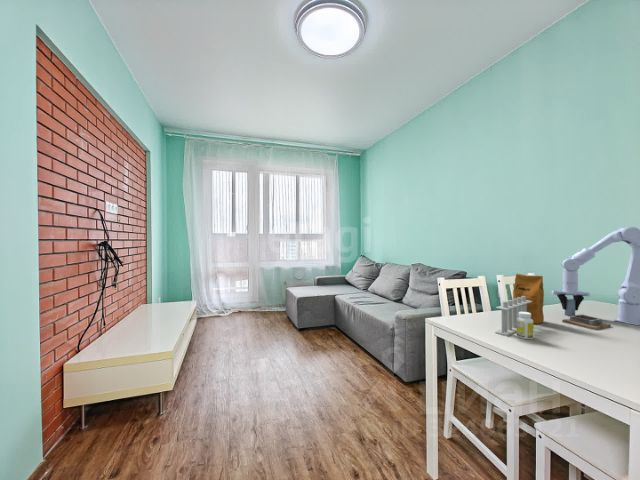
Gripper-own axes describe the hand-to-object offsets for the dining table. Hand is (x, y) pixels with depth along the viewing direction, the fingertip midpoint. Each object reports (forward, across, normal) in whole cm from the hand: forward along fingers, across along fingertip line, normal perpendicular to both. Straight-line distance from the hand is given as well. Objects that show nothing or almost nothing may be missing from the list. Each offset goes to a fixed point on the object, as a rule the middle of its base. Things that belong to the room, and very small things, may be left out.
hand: (570, 309), depth 141 cm
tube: (+3, 0, 0) cm, 3 cm away
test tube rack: (+3, +32, +33) cm, 46 cm away
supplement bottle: (+3, +31, +43) cm, 53 cm away
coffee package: (+3, +23, +16) cm, 28 cm away
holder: (+3, 0, +15) cm, 15 cm away
